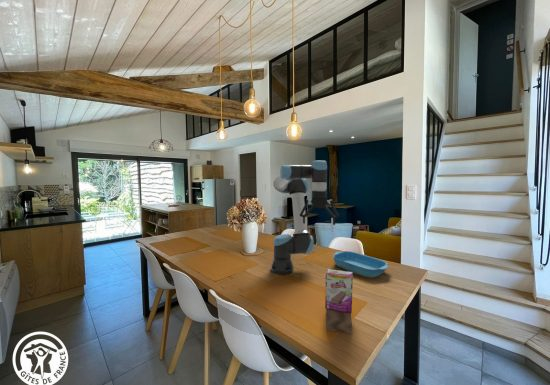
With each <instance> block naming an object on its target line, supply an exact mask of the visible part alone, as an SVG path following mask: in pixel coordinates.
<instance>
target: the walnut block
mask: <svg viewBox="0 0 550 385" xmlns="http://www.w3.org/2000/svg"><path fill="white" fill-rule="evenodd" d="M325 316H326V317H325V322H326V323H325V324H326V325H325V329H326V331H329V332H331V331H332V332H338V333H344V334H351V335H352V334H353V319H352V318H353V317H352V313H346V312H341V311H335V310H330V309H326V315H325Z"/></svg>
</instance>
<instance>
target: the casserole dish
mask: <svg viewBox="0 0 550 385" xmlns="http://www.w3.org/2000/svg"><path fill="white" fill-rule="evenodd" d="M333 261H334V263H335V265H336V266H337V267H339V268H341V269H343V270H345V271H347V272H353V274H355V275H356V274H357V275H360V276H362V277H365V278H370V279H373V278H376V277H378V276H380V275H382V274H383V273H384V272H386V270H387V269H388V268H389V266H388V264H389V263H388V262H387V261H385V260H382V259H379V258H376V257H372V256H369V255H365V254H363V253H362V254H361V253H359V252H354V251H351V250H350V251H349V250H348V251H336V252H335V253H334V254H333Z"/></svg>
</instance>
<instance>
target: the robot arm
mask: <svg viewBox="0 0 550 385" xmlns="http://www.w3.org/2000/svg"><path fill="white" fill-rule="evenodd" d="M311 163H312V164H305V165H304V164H283V165H281V166H280V170H279V171H280V172H279V173H280V174H279V176H277V177H275V179H274V181H273V186H274V187H273V188H274V189H275V190H276V191H277V192H279V193H282V194H289V197H290V198H291V201H292V203H291V204H292V214H293V224H294V225H293V227H294V232H293V233H292V235H291V234H286V233H284V234H283V233H282V234H279V235H276V236H275V237H274V238H273V243H272V245H273V260H272V262H271V266H270V267H271V272H272V273H274V274H276V275H287V274H291V273H293V272H294V269H295V267H294V263H293V260H292V255H303V254H304V255H305V254H310V253H312V252H313V250H314V237H313V235H311V233H310V232H309V231H308V214H309V213H311V211H312V210H313V209H314V208H315V209H323V208H324V209H325V211H326V212H327V213H328V214H329V216H330V217H331V220H330V221H331V222H330V224H331V225H330V231H331V232H334V229H333V228H334V226H335V225H336V219H339V217H340V215H339V213H338V211H337V210H336V207H335V205H334V204H333V202H334V201H333V199H327V194H328V193H327V189H328V188H327V185H328V184H327V176H328V172H327V171H328V164H327V161H326V160H313V161H312V162H311ZM310 179H311V190H312V191H311V199H309V198H306V200H305V196H306V195H307V193H308V191H309V190H308V189H309V184H308V181H307V180H310ZM310 203H311V204H312V205H311V206H310V207H309V208H308V210H306V209H307V207H308V205H309V204H310ZM327 204H329V205H330V207H331V209H332V211H333V212H334V214H333V212H332V211H331V210H330V209H329V208H328V206H327Z"/></svg>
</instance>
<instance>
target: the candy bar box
mask: <svg viewBox="0 0 550 385" xmlns="http://www.w3.org/2000/svg"><path fill="white" fill-rule="evenodd" d="M353 274H354V273H353V272H351V271H348V270H338V269H332V268H331V269H330V268H326V272H325V297H324V298H325V304H324V307H325V309H326V310H327V309H330V310H335V311H341V312H346V313H351V314H352V313H353V312H352V311H353V288H354V287H353V284H354V283H353V282H354V278H353V276H354V275H353Z"/></svg>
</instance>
